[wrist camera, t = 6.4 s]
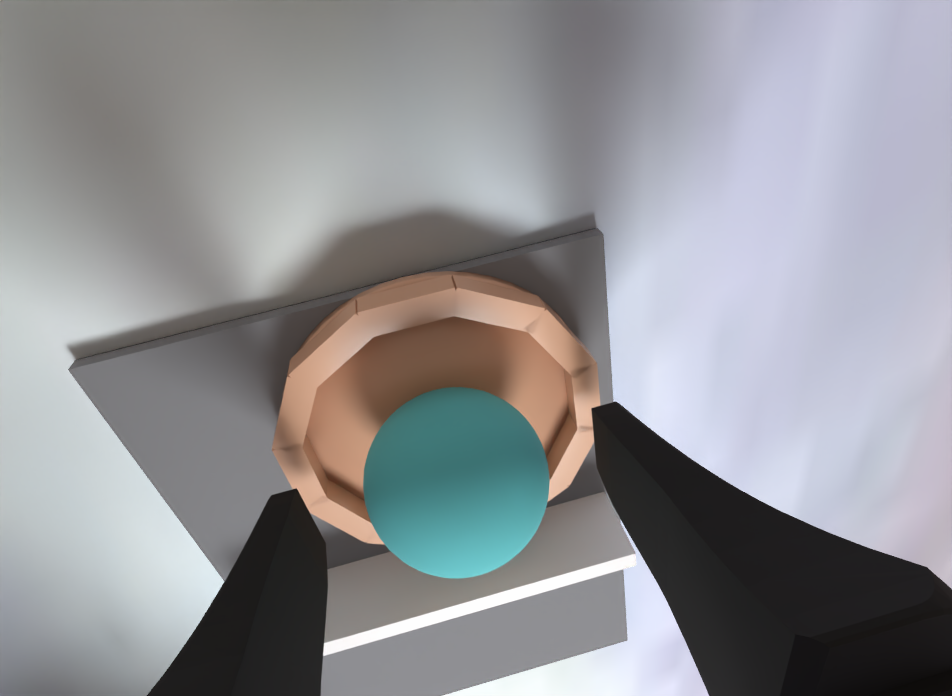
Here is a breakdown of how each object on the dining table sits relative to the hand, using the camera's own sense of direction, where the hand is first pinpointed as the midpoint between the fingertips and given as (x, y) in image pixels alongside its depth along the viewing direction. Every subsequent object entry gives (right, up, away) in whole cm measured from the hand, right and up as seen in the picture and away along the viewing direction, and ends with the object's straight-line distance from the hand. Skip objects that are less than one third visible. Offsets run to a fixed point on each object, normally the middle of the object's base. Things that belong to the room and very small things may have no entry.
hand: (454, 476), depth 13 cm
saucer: (-1, +1, +2) cm, 3 cm away
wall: (-1, -3, +5) cm, 6 cm away
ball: (0, +1, +2) cm, 2 cm away
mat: (-1, -3, +5) cm, 6 cm away
